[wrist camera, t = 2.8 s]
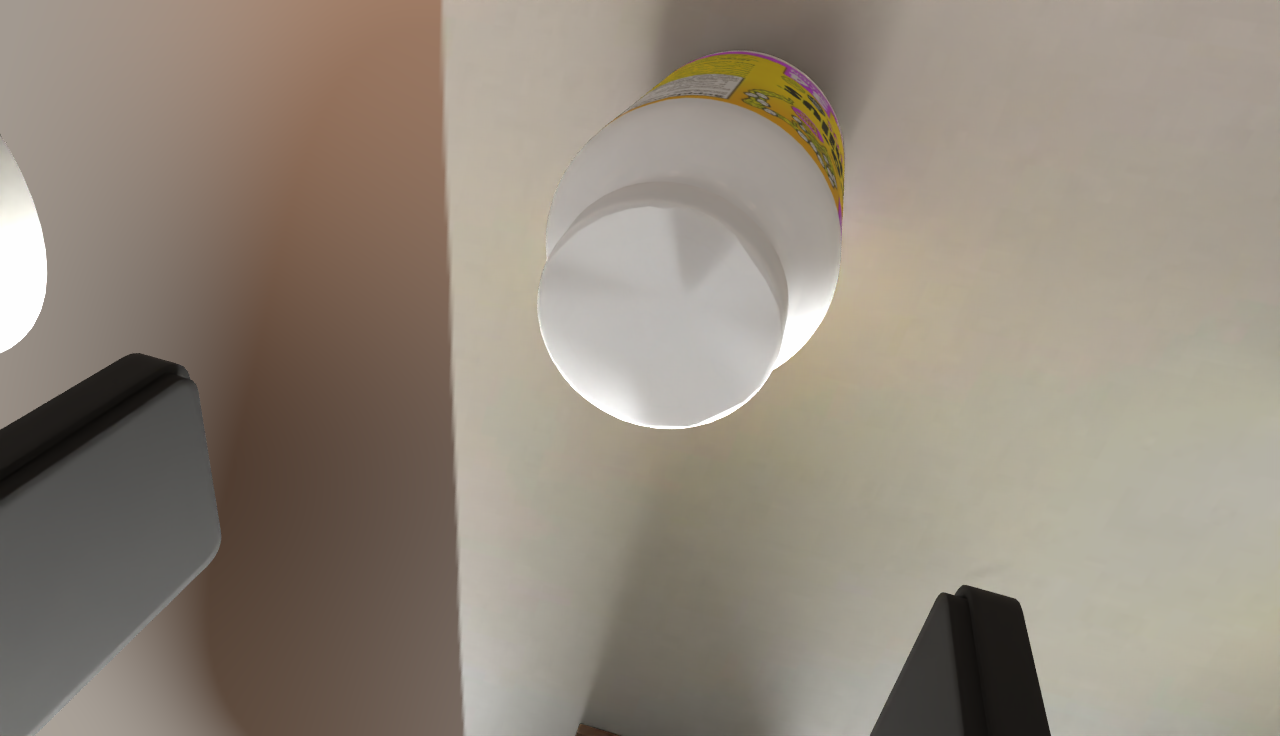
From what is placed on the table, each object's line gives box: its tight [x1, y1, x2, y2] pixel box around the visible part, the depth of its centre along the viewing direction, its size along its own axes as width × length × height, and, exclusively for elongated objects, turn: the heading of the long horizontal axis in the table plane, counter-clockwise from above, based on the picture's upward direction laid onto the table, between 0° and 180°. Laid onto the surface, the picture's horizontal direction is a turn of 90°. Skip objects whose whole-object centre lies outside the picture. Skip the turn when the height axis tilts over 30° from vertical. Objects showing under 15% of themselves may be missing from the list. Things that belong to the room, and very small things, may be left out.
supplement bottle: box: [537, 50, 845, 429], centre depth 20 cm, size 7×7×13 cm
